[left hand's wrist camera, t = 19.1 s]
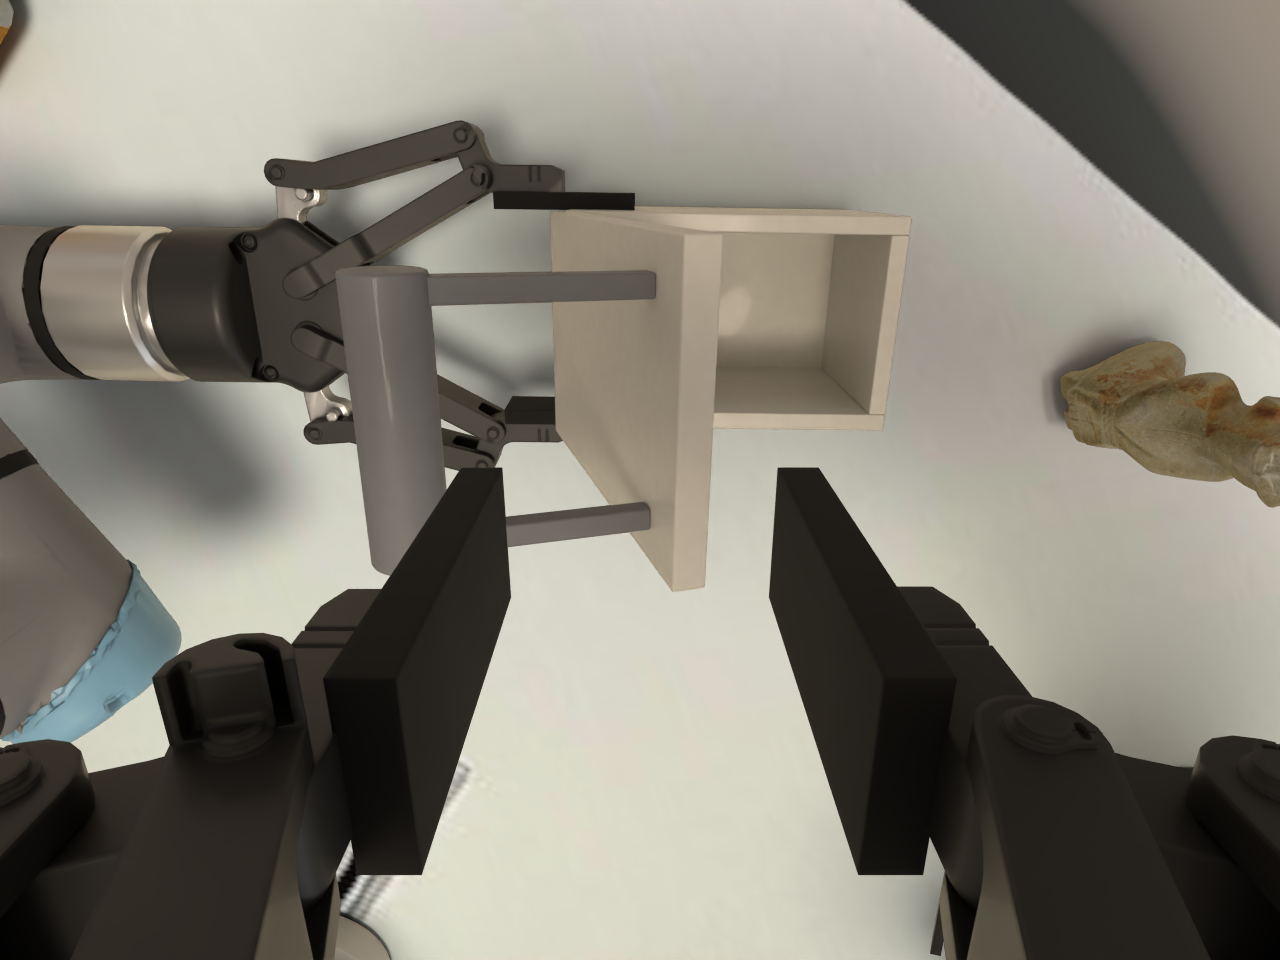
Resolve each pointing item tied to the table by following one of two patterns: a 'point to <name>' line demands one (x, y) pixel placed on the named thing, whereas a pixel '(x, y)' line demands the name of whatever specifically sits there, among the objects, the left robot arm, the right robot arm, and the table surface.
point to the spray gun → (5, 18)
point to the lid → (556, 385)
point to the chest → (800, 312)
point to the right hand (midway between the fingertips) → (633, 311)
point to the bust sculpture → (357, 943)
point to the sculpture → (1176, 419)
